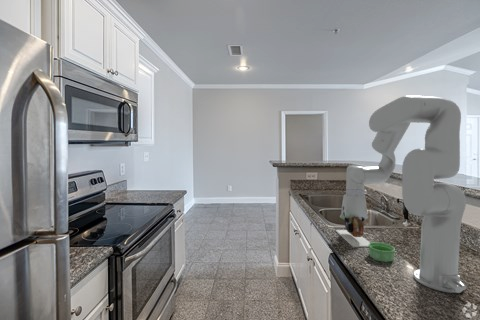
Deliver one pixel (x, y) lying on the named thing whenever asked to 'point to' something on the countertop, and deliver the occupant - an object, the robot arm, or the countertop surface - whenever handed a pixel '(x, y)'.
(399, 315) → the countertop surface
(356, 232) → the tin
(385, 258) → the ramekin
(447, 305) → the countertop surface
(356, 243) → the mat
